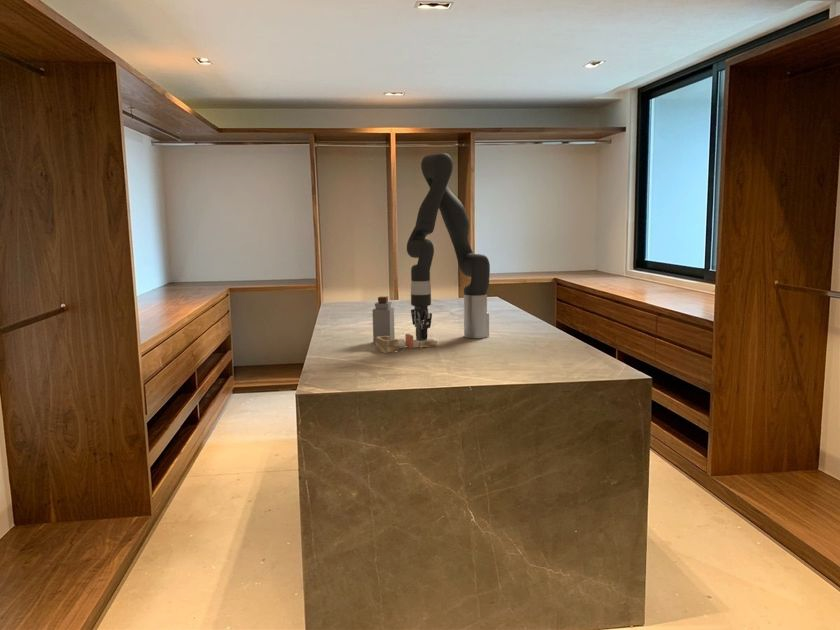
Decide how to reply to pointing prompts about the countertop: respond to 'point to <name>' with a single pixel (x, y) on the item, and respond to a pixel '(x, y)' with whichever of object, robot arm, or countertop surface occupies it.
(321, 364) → the countertop surface
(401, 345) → the ball
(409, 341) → the gray block
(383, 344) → the box
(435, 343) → the rail guide
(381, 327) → the perfume bottle
